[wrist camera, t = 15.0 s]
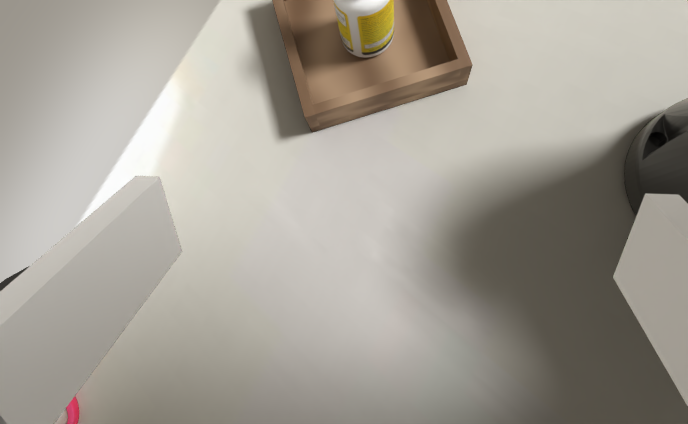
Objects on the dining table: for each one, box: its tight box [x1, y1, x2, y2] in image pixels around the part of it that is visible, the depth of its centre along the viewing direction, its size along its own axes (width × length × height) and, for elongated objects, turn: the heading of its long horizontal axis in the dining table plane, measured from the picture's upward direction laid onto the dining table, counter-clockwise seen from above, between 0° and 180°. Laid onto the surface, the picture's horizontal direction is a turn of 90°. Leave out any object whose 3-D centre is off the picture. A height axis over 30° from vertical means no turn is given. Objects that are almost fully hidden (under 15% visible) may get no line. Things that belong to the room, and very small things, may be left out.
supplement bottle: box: [333, 0, 394, 58], centre depth 39 cm, size 5×5×10 cm
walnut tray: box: [272, 0, 472, 132], centre depth 43 cm, size 16×16×4 cm
